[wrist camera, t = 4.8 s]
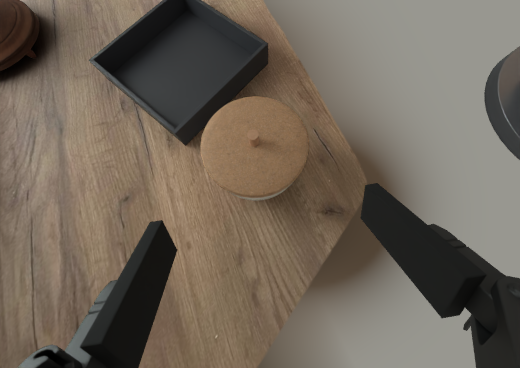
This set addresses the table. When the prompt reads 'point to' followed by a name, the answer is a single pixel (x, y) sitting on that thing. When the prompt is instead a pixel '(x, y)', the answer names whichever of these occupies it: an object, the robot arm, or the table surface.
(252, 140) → the trinket box
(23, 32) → the scroll
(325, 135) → the table surface
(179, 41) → the tray
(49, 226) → the table surface
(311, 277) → the table surface
